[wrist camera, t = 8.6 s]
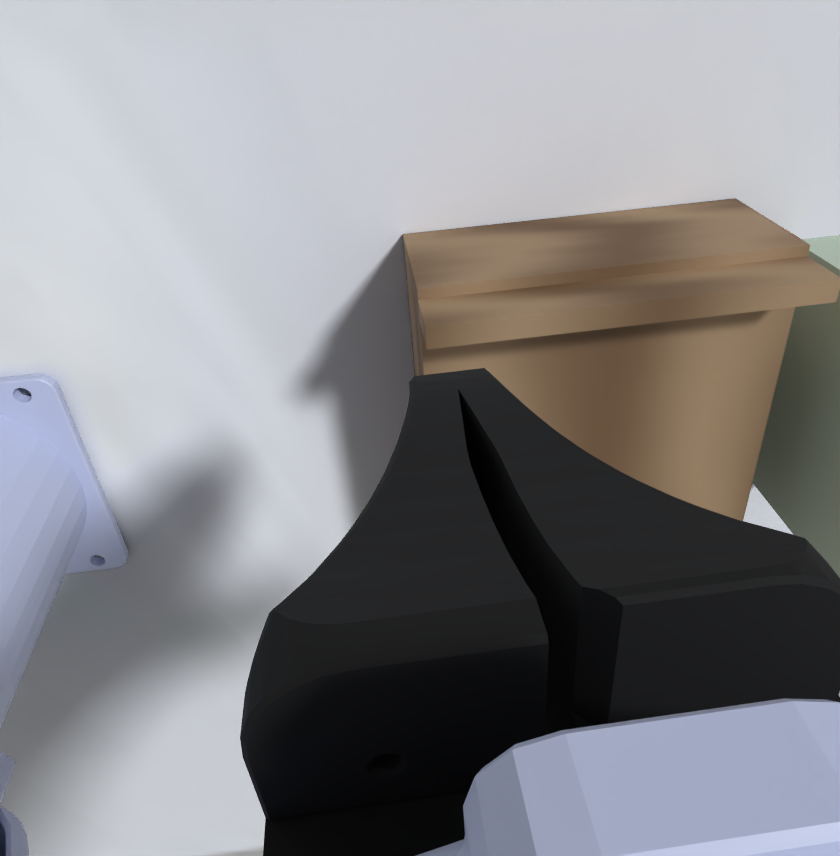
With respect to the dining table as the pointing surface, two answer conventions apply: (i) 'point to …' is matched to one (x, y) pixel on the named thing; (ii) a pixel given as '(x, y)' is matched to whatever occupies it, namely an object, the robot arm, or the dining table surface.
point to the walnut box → (626, 331)
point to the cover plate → (807, 422)
